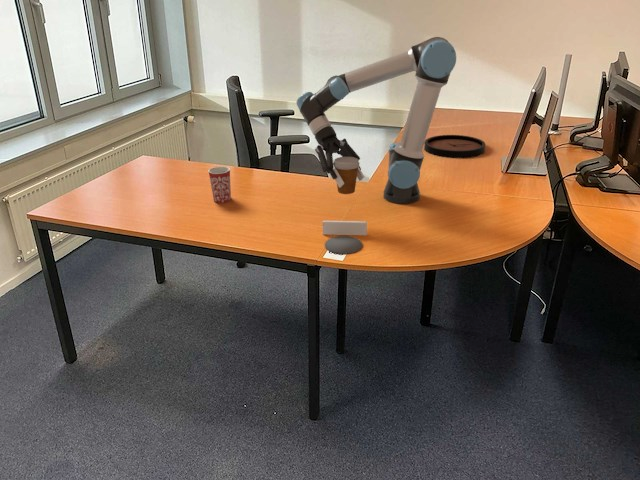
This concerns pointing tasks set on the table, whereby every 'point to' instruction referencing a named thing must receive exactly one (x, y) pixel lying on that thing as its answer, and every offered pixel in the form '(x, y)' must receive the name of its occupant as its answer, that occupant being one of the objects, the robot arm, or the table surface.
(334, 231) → the low wall
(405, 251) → the table surface
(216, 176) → the mug
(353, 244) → the rubber pad
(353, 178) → the disposable coffee cup
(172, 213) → the table surface
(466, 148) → the wall clock
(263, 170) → the table surface
